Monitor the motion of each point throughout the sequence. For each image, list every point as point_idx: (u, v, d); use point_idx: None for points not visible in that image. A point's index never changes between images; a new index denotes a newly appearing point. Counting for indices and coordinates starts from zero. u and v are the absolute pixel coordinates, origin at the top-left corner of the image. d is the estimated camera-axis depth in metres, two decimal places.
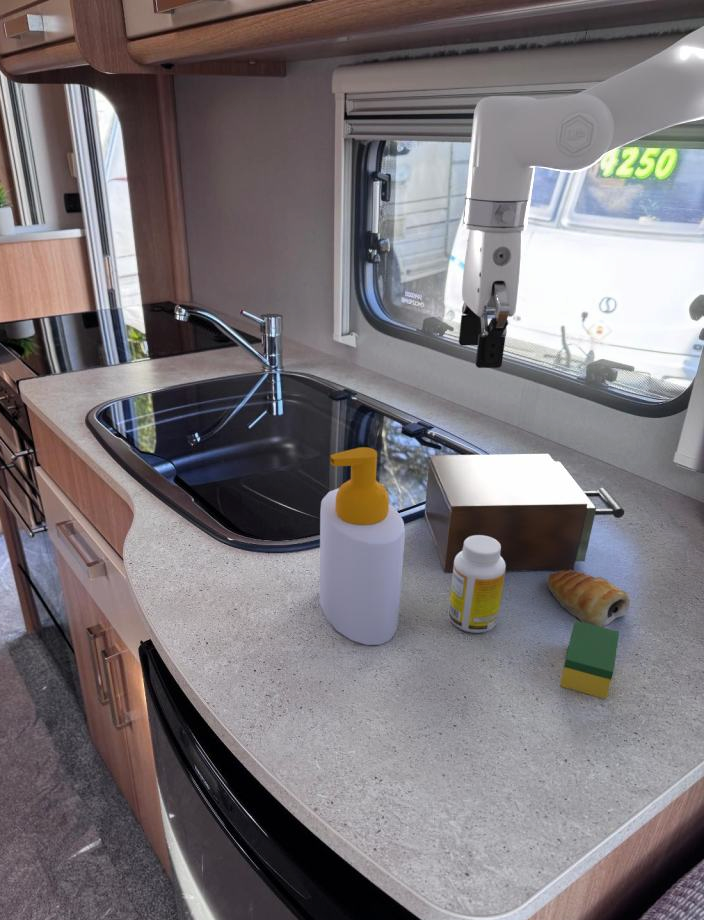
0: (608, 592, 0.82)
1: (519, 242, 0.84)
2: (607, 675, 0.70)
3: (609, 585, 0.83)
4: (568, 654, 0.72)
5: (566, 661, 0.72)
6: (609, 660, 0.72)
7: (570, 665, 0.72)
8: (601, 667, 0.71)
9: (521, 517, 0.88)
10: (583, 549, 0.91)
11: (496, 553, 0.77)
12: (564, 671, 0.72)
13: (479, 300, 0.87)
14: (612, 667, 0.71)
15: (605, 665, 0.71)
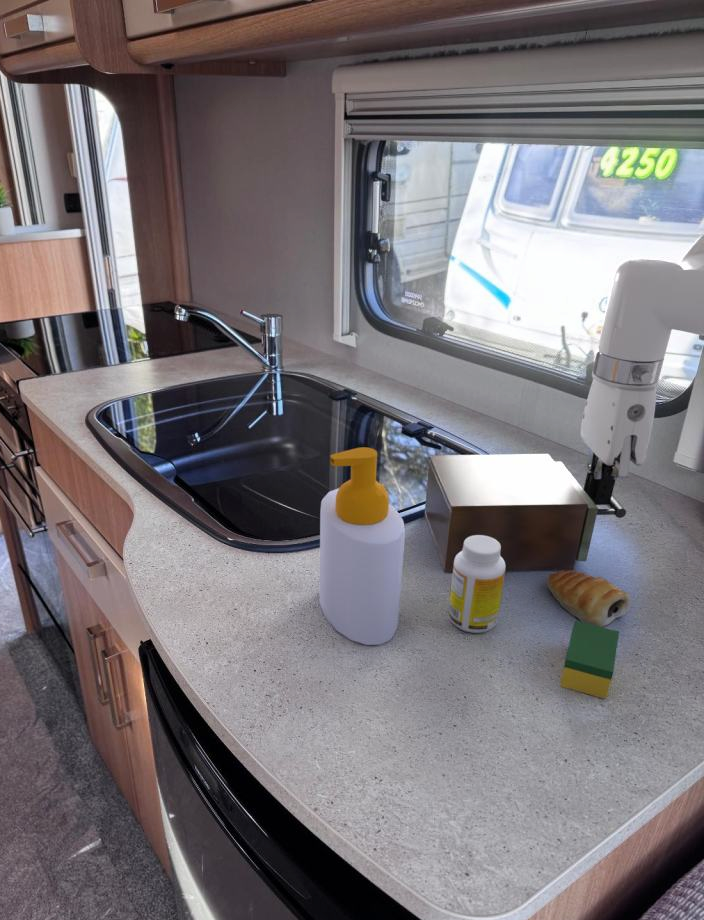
0: (608, 592, 0.82)
1: (654, 400, 0.84)
2: (607, 675, 0.70)
3: (609, 585, 0.83)
4: (568, 654, 0.72)
5: (566, 661, 0.72)
6: (609, 660, 0.72)
7: (570, 665, 0.72)
8: (601, 667, 0.71)
9: (521, 517, 0.88)
10: (585, 549, 0.91)
11: (496, 553, 0.77)
12: (564, 671, 0.72)
13: (609, 451, 0.87)
14: (612, 667, 0.71)
15: (605, 665, 0.71)
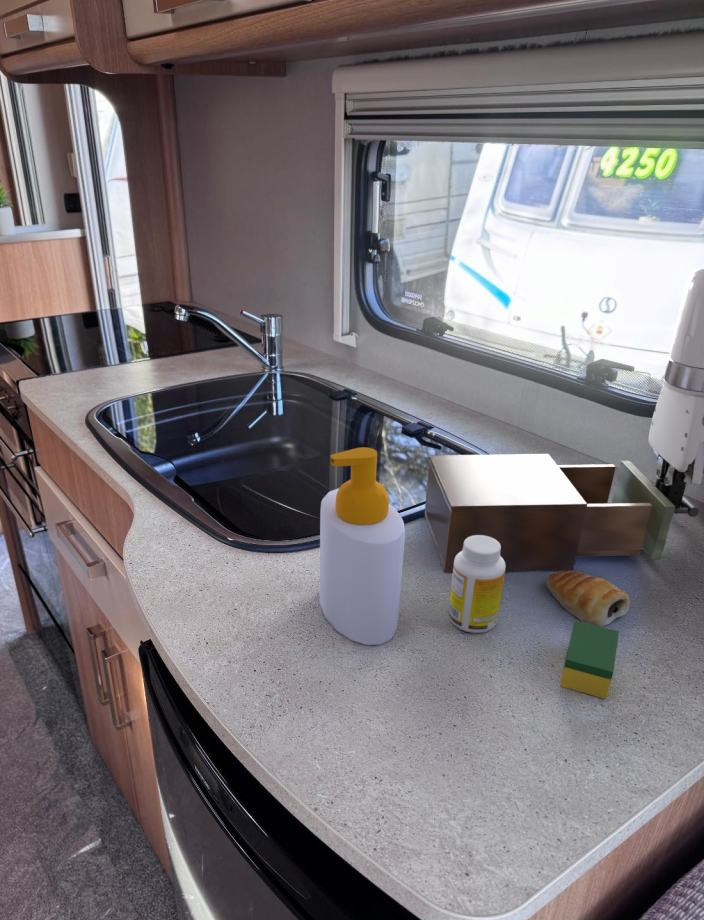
0: (608, 592, 0.82)
1: None
2: (607, 675, 0.70)
3: (609, 585, 0.83)
4: (568, 654, 0.72)
5: (566, 661, 0.72)
6: (609, 660, 0.72)
7: (570, 665, 0.72)
8: (601, 667, 0.71)
9: (521, 517, 0.88)
10: (660, 548, 0.92)
11: (496, 553, 0.77)
12: (564, 671, 0.72)
13: (683, 458, 0.88)
14: (612, 667, 0.71)
15: (605, 665, 0.71)
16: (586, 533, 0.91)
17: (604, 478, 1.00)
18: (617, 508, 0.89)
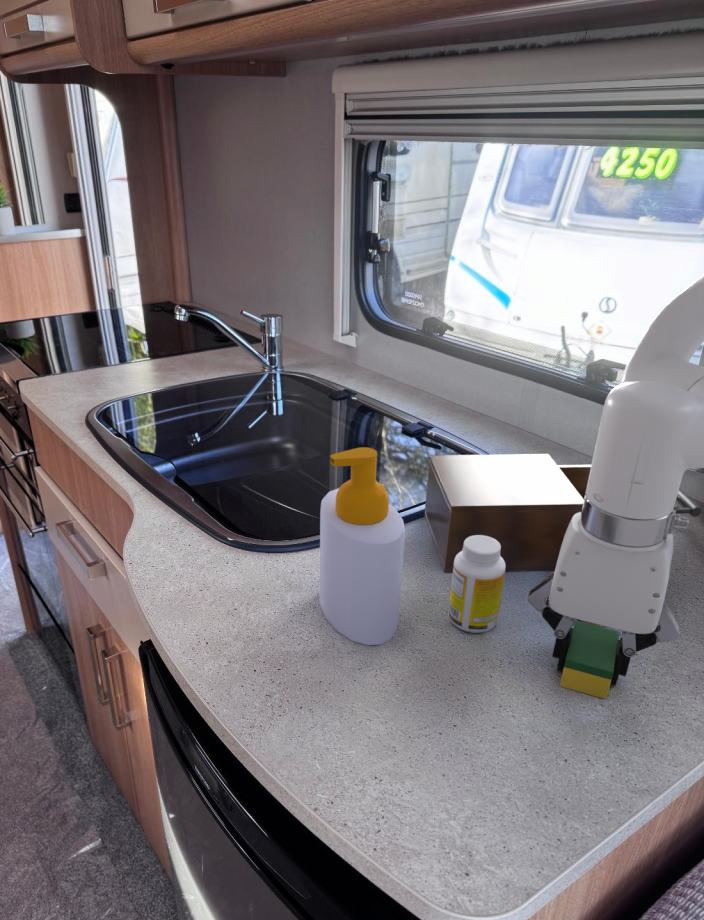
0: None
1: None
2: (607, 675, 0.70)
3: None
4: (568, 654, 0.72)
5: (566, 661, 0.72)
6: (609, 660, 0.72)
7: (570, 665, 0.72)
8: (601, 667, 0.71)
9: (521, 517, 0.88)
10: None
11: (496, 553, 0.77)
12: (564, 671, 0.72)
13: (654, 620, 0.68)
14: (612, 667, 0.71)
15: (605, 665, 0.71)
16: None
17: None
18: None
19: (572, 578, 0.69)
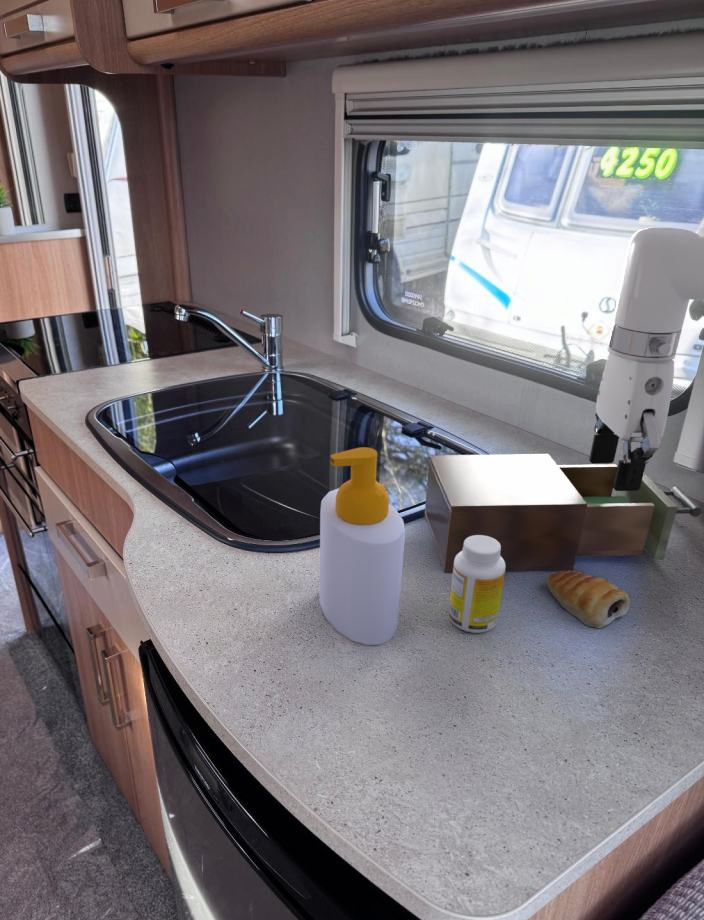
0: (608, 592, 0.82)
1: (672, 372, 0.83)
2: None
3: (609, 585, 0.83)
4: None
5: None
6: None
7: None
8: None
9: (521, 517, 0.88)
10: (662, 548, 0.92)
11: (496, 553, 0.77)
12: None
13: (627, 426, 0.86)
14: None
15: None
16: (589, 533, 0.91)
17: (606, 478, 1.00)
18: (619, 508, 0.89)
19: (603, 383, 0.91)
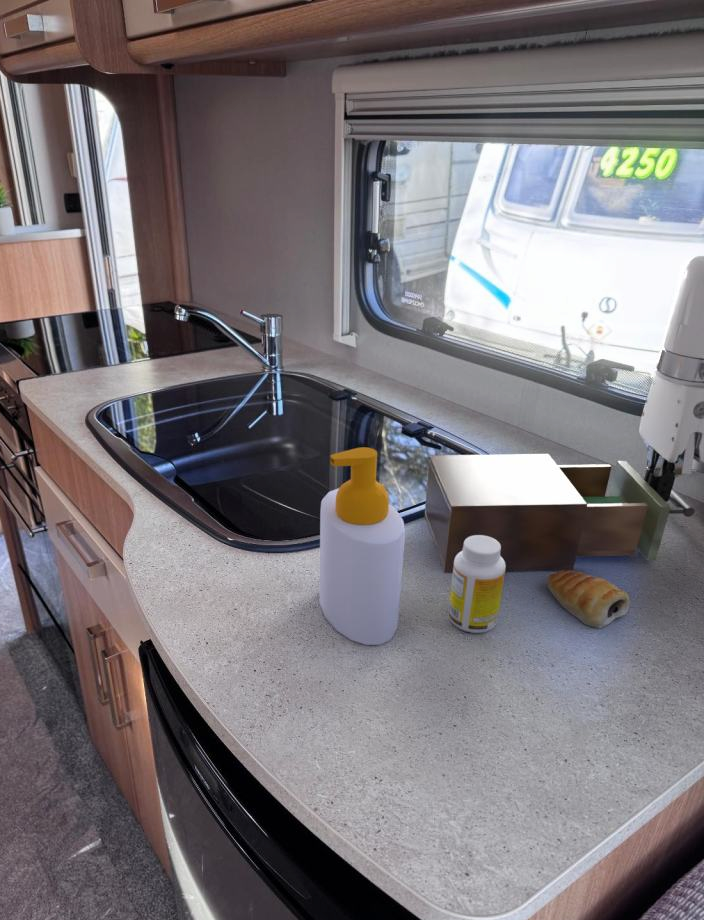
0: (608, 592, 0.82)
1: None
2: None
3: (609, 585, 0.83)
4: None
5: None
6: None
7: None
8: None
9: (521, 517, 0.88)
10: (655, 548, 0.92)
11: (496, 553, 0.77)
12: None
13: (673, 449, 0.87)
14: None
15: None
16: (581, 533, 0.91)
17: (600, 478, 1.00)
18: (612, 508, 0.89)
19: (648, 404, 0.93)
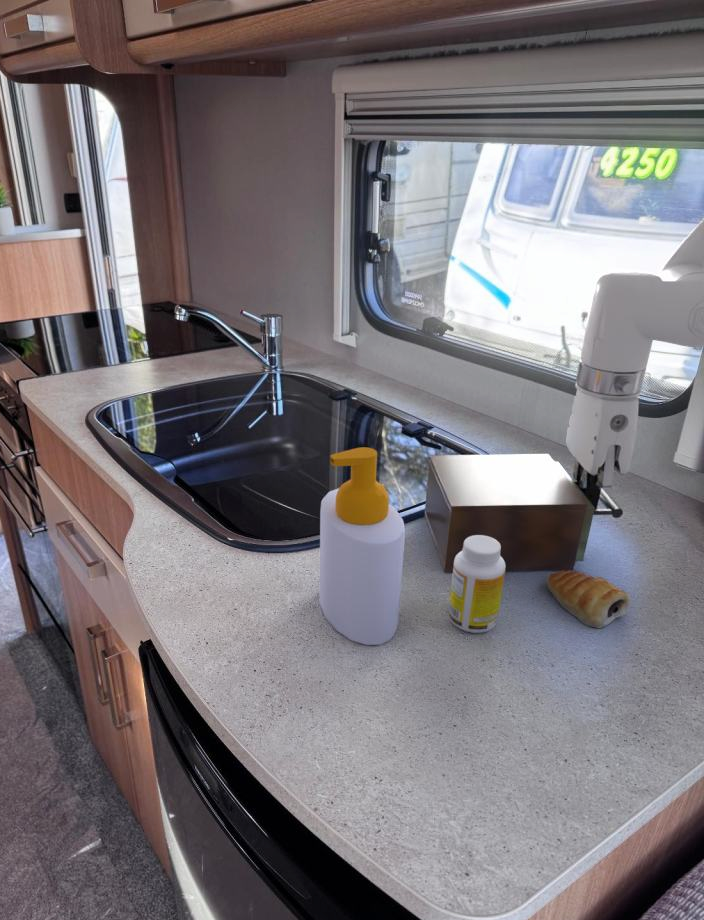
0: (608, 592, 0.82)
1: (636, 410, 0.85)
2: None
3: (609, 585, 0.83)
4: None
5: None
6: None
7: None
8: None
9: (521, 517, 0.88)
10: (581, 549, 0.91)
11: (496, 553, 0.77)
12: None
13: (593, 461, 0.88)
14: None
15: None
16: None
17: None
18: None
19: (572, 416, 0.93)
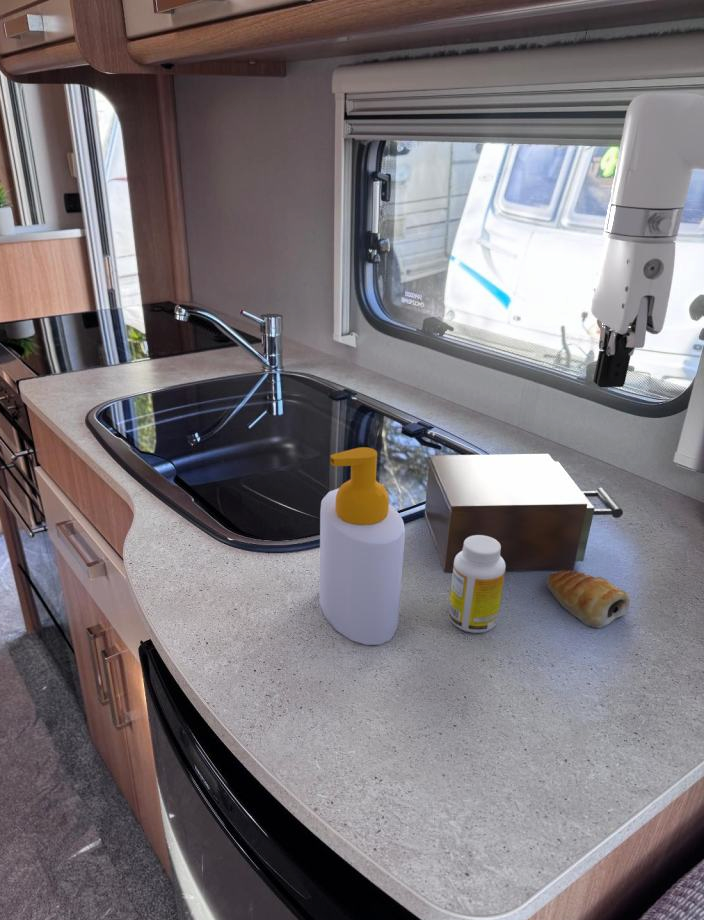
0: (608, 592, 0.82)
1: (673, 254, 0.76)
2: None
3: (609, 585, 0.83)
4: None
5: None
6: None
7: None
8: None
9: (521, 517, 0.88)
10: (581, 549, 0.91)
11: (496, 553, 0.77)
12: None
13: (624, 316, 0.79)
14: None
15: None
16: None
17: None
18: None
19: (599, 276, 0.85)
